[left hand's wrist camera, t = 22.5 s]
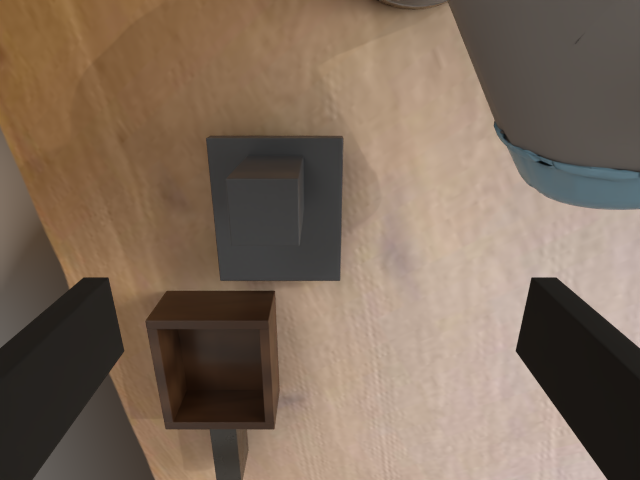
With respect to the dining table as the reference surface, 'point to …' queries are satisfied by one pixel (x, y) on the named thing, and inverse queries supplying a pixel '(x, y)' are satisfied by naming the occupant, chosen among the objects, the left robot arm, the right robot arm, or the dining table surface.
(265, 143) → the lid
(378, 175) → the dining table surface
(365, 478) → the dining table surface
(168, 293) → the box
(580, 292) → the dining table surface
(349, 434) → the dining table surface
